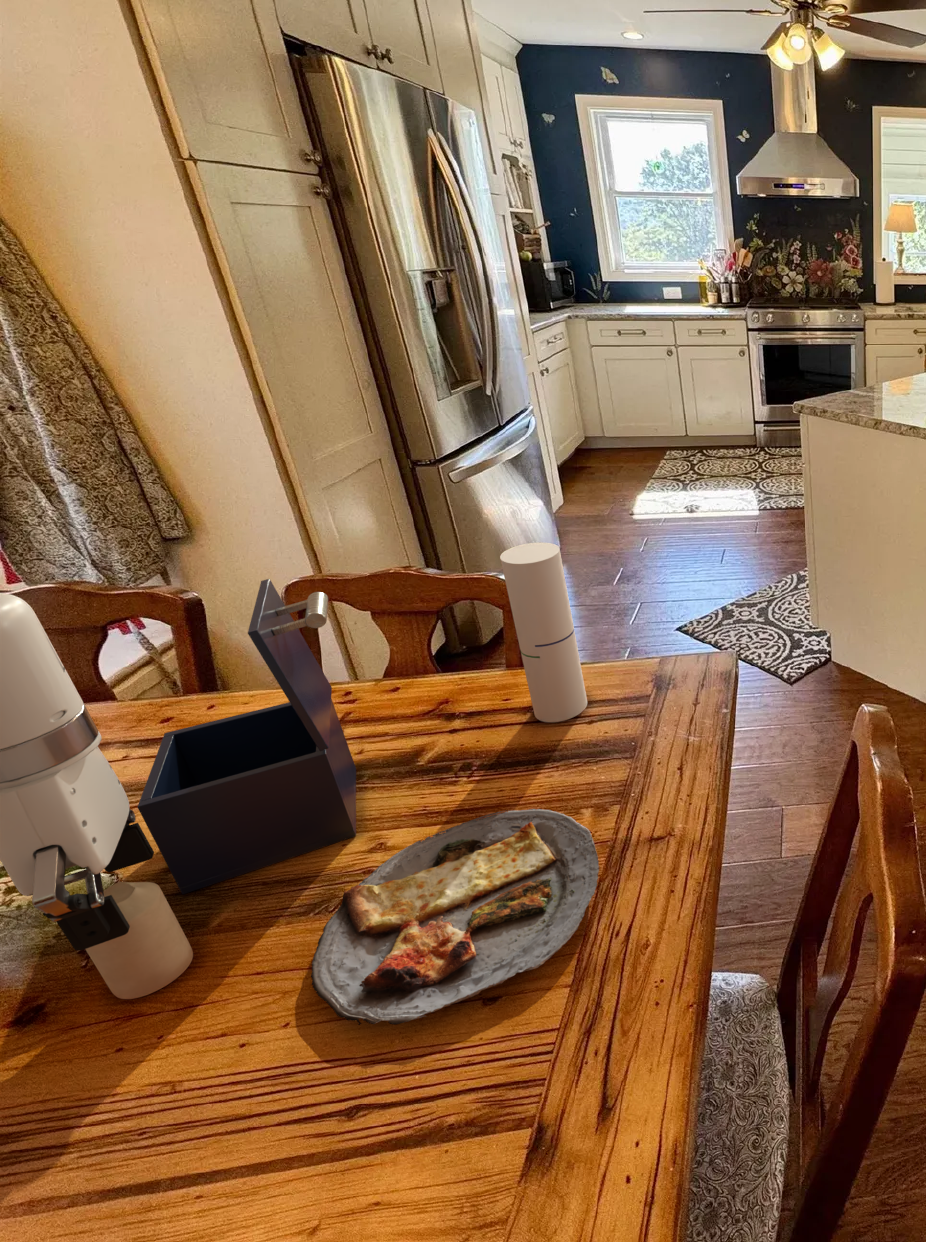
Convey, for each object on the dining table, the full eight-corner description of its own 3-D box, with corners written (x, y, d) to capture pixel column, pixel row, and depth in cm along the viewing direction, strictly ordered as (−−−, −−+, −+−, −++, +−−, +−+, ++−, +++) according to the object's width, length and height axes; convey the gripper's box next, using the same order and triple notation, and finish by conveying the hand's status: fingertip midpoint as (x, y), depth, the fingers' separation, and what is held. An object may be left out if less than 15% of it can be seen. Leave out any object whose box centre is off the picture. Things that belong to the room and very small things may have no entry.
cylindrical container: (584, 718, 106) (555, 561, 96) (530, 725, 104) (494, 566, 94) (589, 690, 112) (563, 540, 102) (538, 697, 110) (506, 544, 100)
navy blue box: (182, 895, 77) (136, 807, 72) (202, 814, 87) (164, 732, 82) (356, 836, 84) (325, 753, 80) (356, 768, 95) (329, 691, 90)
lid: (247, 633, 72) (313, 613, 75) (260, 580, 82) (318, 564, 85) (320, 751, 79) (378, 729, 82) (324, 690, 90) (375, 672, 92)
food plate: (303, 1084, 60) (290, 1057, 59) (330, 885, 78) (320, 860, 77) (621, 946, 73) (616, 920, 71) (581, 801, 91) (576, 779, 89)
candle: (130, 957, 70) (86, 880, 66) (204, 938, 72) (165, 863, 68) (99, 1009, 65) (49, 930, 61) (179, 987, 67) (135, 909, 63)
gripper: (-4, 706, 63) (86, 855, 69) (-98, 832, 50) (23, 1000, 57) (118, 679, 67) (192, 822, 73) (61, 788, 54) (156, 950, 61)
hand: (118, 899), depth 65 cm, fingers open, 9 cm apart
